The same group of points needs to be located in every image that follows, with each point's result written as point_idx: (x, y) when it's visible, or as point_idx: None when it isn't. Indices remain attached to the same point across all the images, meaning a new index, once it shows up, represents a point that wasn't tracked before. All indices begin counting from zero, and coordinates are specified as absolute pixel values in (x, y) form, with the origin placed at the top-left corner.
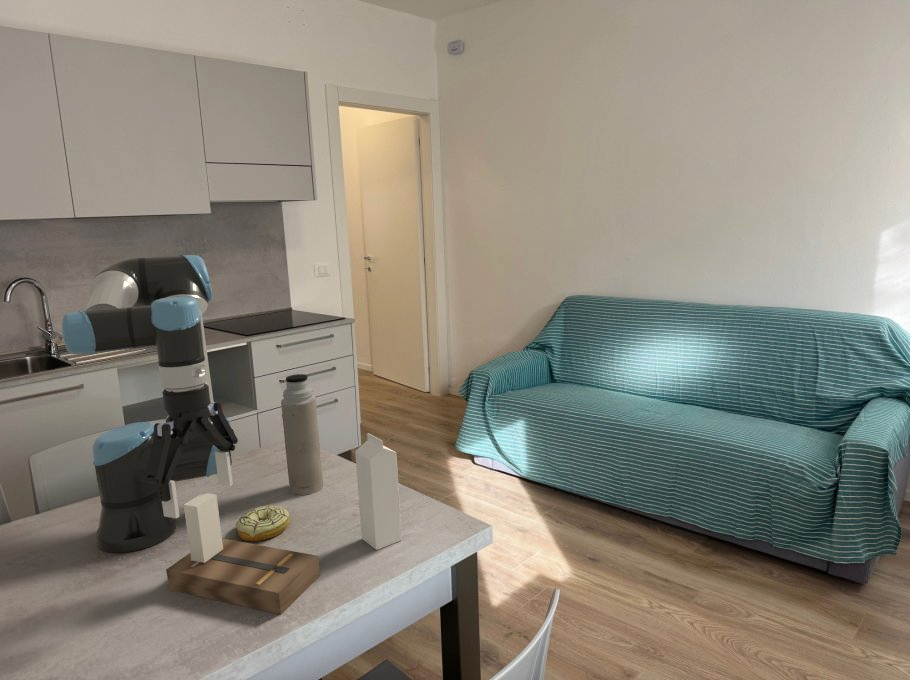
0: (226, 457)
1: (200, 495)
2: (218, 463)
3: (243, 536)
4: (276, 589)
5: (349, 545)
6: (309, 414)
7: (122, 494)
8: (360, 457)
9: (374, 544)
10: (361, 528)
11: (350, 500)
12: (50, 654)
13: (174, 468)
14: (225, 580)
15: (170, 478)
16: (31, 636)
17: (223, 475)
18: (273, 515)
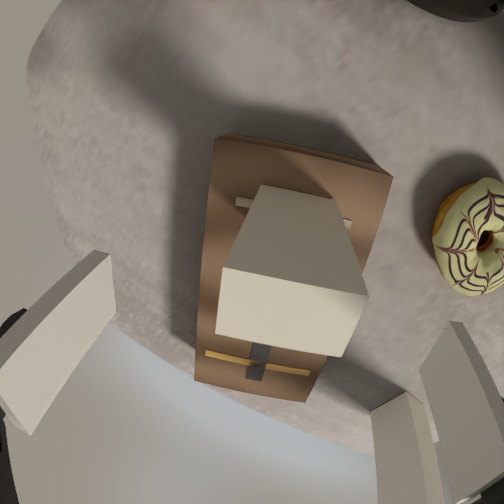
0: (450, 484)
1: (335, 298)
2: (479, 418)
3: (441, 211)
4: (201, 376)
5: (390, 384)
6: None
7: None
8: None
9: (374, 415)
10: (408, 406)
11: None
12: (50, 78)
13: (11, 490)
14: (203, 299)
15: (4, 438)
16: (76, 10)
17: (447, 382)
18: (486, 272)
